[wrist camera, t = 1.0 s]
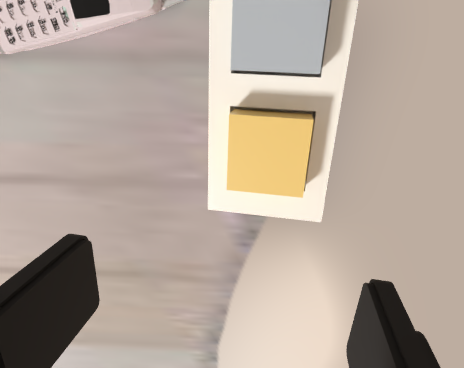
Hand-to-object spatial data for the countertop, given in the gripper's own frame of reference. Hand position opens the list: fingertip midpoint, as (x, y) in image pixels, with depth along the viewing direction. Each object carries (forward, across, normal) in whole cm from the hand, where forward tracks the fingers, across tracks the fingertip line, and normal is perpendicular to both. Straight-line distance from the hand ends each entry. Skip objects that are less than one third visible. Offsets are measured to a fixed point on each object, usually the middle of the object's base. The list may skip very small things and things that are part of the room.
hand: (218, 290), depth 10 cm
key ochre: (+16, -1, -1) cm, 17 cm away
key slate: (+16, 0, -10) cm, 19 cm away
